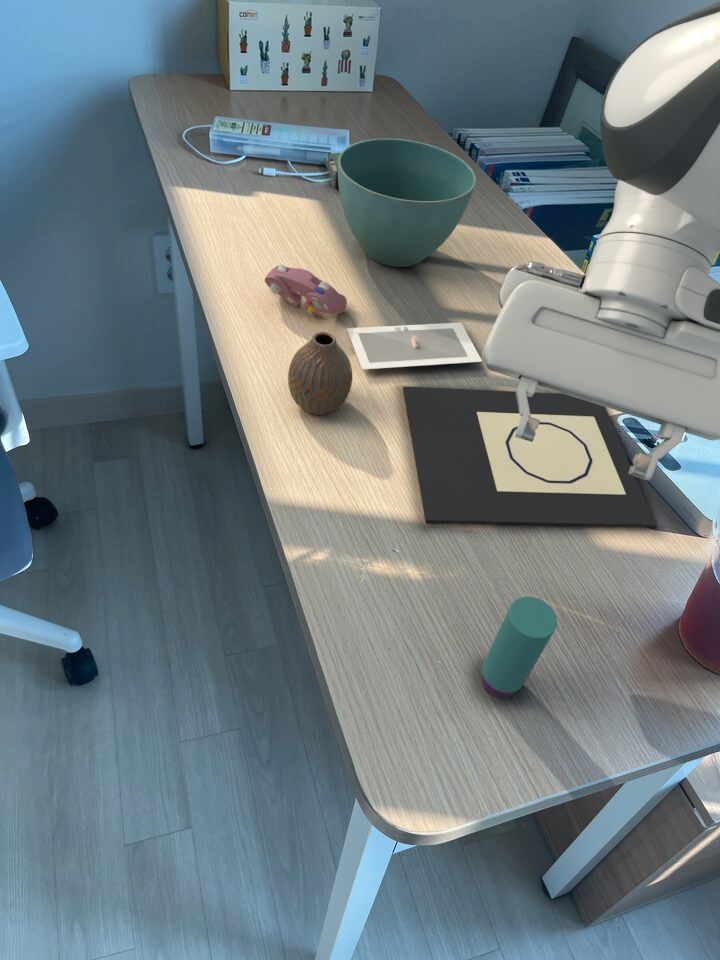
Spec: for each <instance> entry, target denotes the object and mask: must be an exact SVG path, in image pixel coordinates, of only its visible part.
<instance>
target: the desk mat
mask: <svg viewBox="0 0 720 960" xmlns="http://www.w3.org/2000/svg"><path fill="white" fill-rule="evenodd" d="M402 392H403V398H404V404H405V409H406V415H407V421H408V426H409V432H410V433H409V434H410V438H411V444H412V451H413V456H414V463H415V468H416V474H417V481H418V486H419V492H420V498H421V503H422V510H423V517H424V522H425V523H426V524H466V525H467V524H473V525H474V524H475V525H476V524H478V525H516V526H517V525H520V526H521V525H523V526H567V527H568V526H571V527H618V528H621V527H622V528H623V527H624V528H656V526H657V524H656V521H655V519H654V517H653V514H652V512H651V510H650V508H649V505H648V503H647V500H646V498H645V496H644V494H643V491H642V489H641V487H640V484H639V482H638V480H637V477H635V476H632V475H630V474H629V470H630V467H631V466H632V465H631V463H630V461H629V459H628V457H627V454H626V452H625V450H624V448H623V444H622V443H621V440H620V438H619V436H618V434H617V432H616V431H617V430H616V428H615V427H614V424H613V422H612V420H611V417H610V415H609V412H608V410H607V407H604V406H601V405H598V404H595V403H591V402H588V401H585V400H582V399H579V398H576V397H573V396H569V395H566V394H563V393H560V392H556V393H555V392H538V391H537V392H536V391H535V392H534V394H533V396H532V397H528V396H527V399H528V404H529V409H530V414H531V417H532V418H535V419H538V420H540V423H539V426H538V428H537V429H536V430H535V433H536V434H535V437H534V440H533V442H530V441H526V440H523V439H521V438H517V437H515V434H516V431H517V428H518V425H519V422H520V419H521V416H520V413H519V408H518V403H517V398H516V390H514V391H513V390H493V389H492V390H490V389H469V388H449V387H448V388H446V387H427V386H426V387H423V386H402Z"/></svg>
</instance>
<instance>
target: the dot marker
mask: <svg viewBox="0 0 720 960" xmlns="http://www.w3.org/2000/svg"><path fill="white" fill-rule="evenodd" d="M557 625H558V620H557V615H556V613H555V610H554V609H553V608H552V606H550V605H549V604H548V603H546V601H544V600H543V599H540V598H537V597H535V596H521V597H519V598H516V599H515V600H514V601H513V602H512V603H511V604H510V606H509V608H508V611H507V613H506V615H505V616H504V619H503V621H502V623H501V624H500V627H499V629H498V631H497V633H496V635H495V638H494V640H493V641H492V643H491V646H490V647H489V650H488V652H487V654H486V656H485V658H484V660H483V663H482V667H481V671H482V673H481V684H482V686H483V688H484V689H485V691H486V692H487V693H488V694H489V695H491V696H492V697H495V698H499V699H507V698H509V697H511V696H512V695H514V694H515V692H517V691H519V690H520V689H521V688H522V687H523V686H524V684H525V682H526V681H527V679H528V677H529V676H530V674H531V672H532V671H533V669H534V667H535V666H536V664H537V662H538V660H539V658H540V657H541V655H542V654H543V652H544V650H545V648H546V646H547V645H548V643H549V641H550V640H551V638H552V636H553V634H554V633H555V631H556V629H557Z"/></svg>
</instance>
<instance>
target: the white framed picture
mask: <svg viewBox="0 0 720 960" xmlns="http://www.w3.org/2000/svg"><path fill="white" fill-rule="evenodd" d="M346 331H347V332H348V335H349V338H350V341H351V343H352V346H353V348H354V351H355V354H356V356H357V359H358V362H359V364H360V367H361V369H362V370H376V369H390V368H391V369H393V368H405V367H406V368H407V367H420V366H421V367H422V366H437V365H439V366H440V365H450V364H451V365H453V364H468V363H482V362H483V359H482V358H481V356H480V355H479V352H478V350H477V349H476V347H475V346H474V343H473V342H472V339H471V338H470V336H469V335H468V333H467V330H466V329H465V327H464V325H463V323H462V322H443V323H423V324H407V325H406V324H405V325H388V326H387V325H386V326H385V325H384V326H367V327H348V328H346Z"/></svg>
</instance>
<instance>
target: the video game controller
mask: <svg viewBox="0 0 720 960" xmlns="http://www.w3.org/2000/svg"><path fill="white" fill-rule="evenodd" d="M264 282H265V284H266V285H267V287H269V290H270V291H271V292H272V293H273V294H276V295H278V296H279V297H281V298H282V299H283V300H284V302H286V304H288V305H290V306H293V307H296V306H298V305H299V303H300V302H301V301H302V298H305V302H304V303H303V308H304V309H305V310H306V311H307V312H308V313H309V314H311V315H314V316H319V315H320V314H321V313H323V314H324V313H325V314H331V315H340V314H343V313H344V312H345V311H346V308H347V304H348V301H347V297H346V296H344V294H341V293H340V292H338V291H337V290H336V289H335V287H334V286H332V285H330V284H329V283H328V282H326V281H324V280H322V279H320V278H318V276H316V275H315V274H313V272H311V271H309V270H308V269H305V268H299V267H289V266H287V265H285V264H283V263H280V264H279V265H276V266H275V267H273V268H272V269H271V270H270V271H269V272H268V273H267V275H265V277H264Z"/></svg>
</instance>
